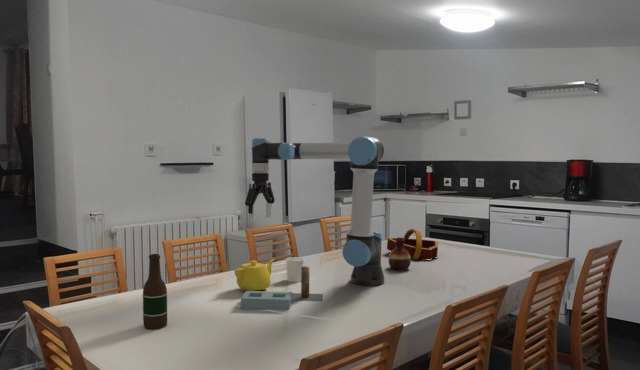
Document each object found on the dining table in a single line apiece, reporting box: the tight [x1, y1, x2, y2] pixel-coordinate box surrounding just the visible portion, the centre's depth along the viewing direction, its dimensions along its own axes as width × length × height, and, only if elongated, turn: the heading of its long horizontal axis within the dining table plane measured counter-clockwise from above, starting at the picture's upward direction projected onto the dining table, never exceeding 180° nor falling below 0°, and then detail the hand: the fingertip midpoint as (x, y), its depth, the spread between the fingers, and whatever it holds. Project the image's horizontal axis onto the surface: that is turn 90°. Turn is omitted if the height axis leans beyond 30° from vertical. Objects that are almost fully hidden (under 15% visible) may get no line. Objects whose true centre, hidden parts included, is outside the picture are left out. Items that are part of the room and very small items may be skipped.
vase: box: [388, 237, 412, 271], centre depth 254 cm, size 11×11×15 cm
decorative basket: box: [386, 228, 439, 260], centre depth 289 cm, size 34×29×15 cm
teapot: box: [234, 258, 276, 292], centre depth 213 cm, size 13×20×12 cm
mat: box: [292, 292, 324, 302], centre depth 202 cm, size 14×10×1 cm
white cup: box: [285, 256, 305, 283], centre depth 228 cm, size 8×8×10 cm
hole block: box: [240, 290, 293, 311], centre depth 192 cm, size 18×10×4 cm, turn 87°
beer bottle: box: [142, 253, 168, 331], centre depth 168 cm, size 8×8×24 cm
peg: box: [300, 265, 310, 298], centre depth 202 cm, size 3×3×12 cm
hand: (260, 219), depth 232 cm, fingers open, 13 cm apart
